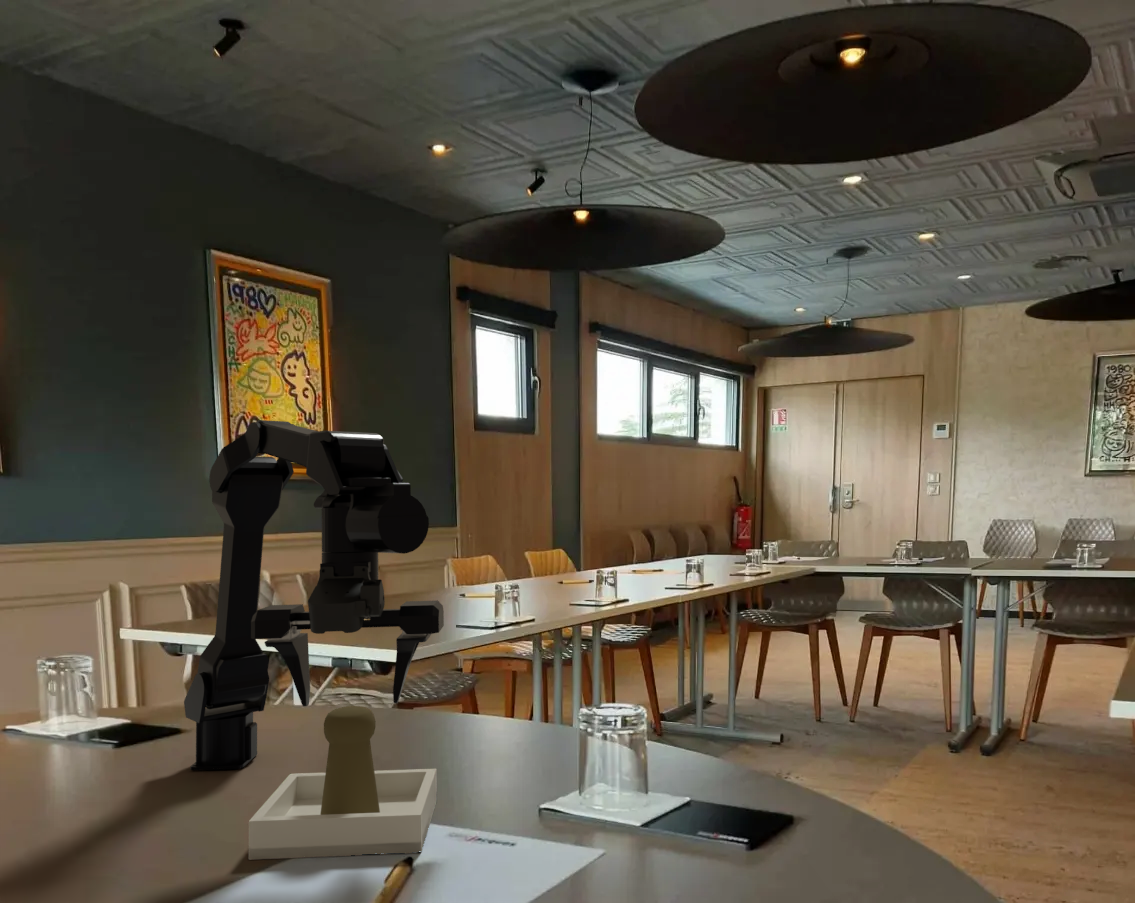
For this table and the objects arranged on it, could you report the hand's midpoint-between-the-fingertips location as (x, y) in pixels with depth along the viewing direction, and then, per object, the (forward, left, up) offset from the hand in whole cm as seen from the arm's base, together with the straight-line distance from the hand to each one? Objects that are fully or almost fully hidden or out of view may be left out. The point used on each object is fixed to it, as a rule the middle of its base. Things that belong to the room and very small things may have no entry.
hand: (351, 704), depth 87 cm
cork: (0, 0, -12) cm, 12 cm away
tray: (0, 0, -12) cm, 12 cm away
